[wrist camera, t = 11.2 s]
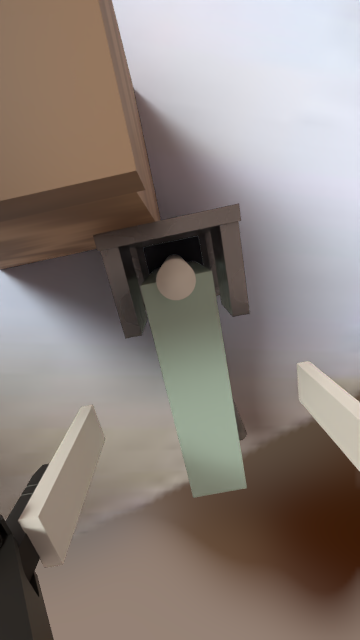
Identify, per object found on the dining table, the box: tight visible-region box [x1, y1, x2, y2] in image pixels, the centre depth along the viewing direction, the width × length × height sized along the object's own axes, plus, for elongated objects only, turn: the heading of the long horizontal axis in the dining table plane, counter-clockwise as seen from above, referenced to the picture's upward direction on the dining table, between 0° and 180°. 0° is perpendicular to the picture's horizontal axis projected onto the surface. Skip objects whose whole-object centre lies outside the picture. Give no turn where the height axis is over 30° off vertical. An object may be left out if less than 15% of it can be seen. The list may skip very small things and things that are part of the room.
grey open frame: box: [93, 204, 250, 339], centre depth 19 cm, size 8×6×12 cm
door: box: [140, 254, 247, 497], centre depth 20 cm, size 5×17×13 cm, turn 11°
